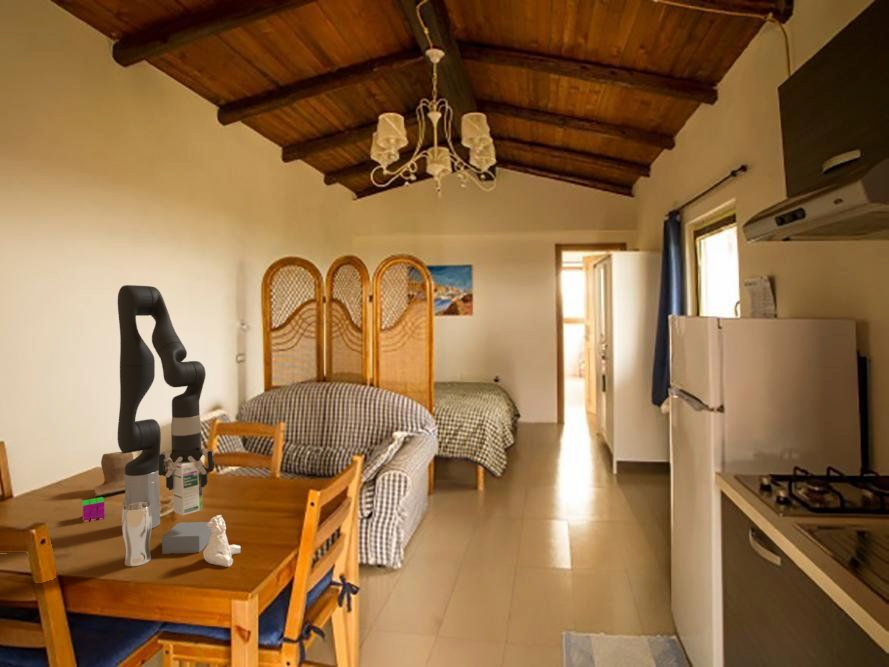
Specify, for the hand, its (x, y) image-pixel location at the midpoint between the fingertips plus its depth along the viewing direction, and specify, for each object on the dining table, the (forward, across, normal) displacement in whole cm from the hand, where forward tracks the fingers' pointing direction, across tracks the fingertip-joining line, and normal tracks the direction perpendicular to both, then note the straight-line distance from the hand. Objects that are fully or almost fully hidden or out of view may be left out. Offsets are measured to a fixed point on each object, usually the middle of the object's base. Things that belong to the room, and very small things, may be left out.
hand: (187, 487), depth 146 cm
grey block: (+17, 0, 0) cm, 17 cm away
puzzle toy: (+17, -35, +31) cm, 50 cm away
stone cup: (+17, -38, +59) cm, 72 cm away
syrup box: (+7, 0, 0) cm, 7 cm away
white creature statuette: (+17, +10, -12) cm, 23 cm away
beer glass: (+17, -11, -7) cm, 21 cm away
